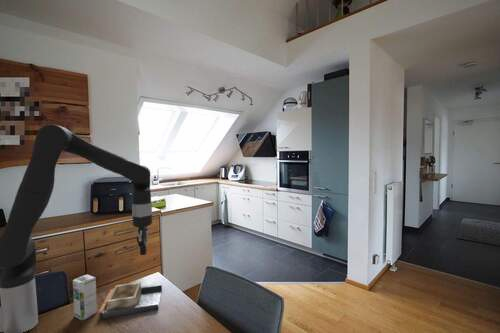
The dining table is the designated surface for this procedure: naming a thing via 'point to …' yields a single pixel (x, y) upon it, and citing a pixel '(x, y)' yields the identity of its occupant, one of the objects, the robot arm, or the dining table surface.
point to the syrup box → (84, 296)
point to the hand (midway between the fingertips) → (143, 254)
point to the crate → (124, 296)
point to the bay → (145, 304)
